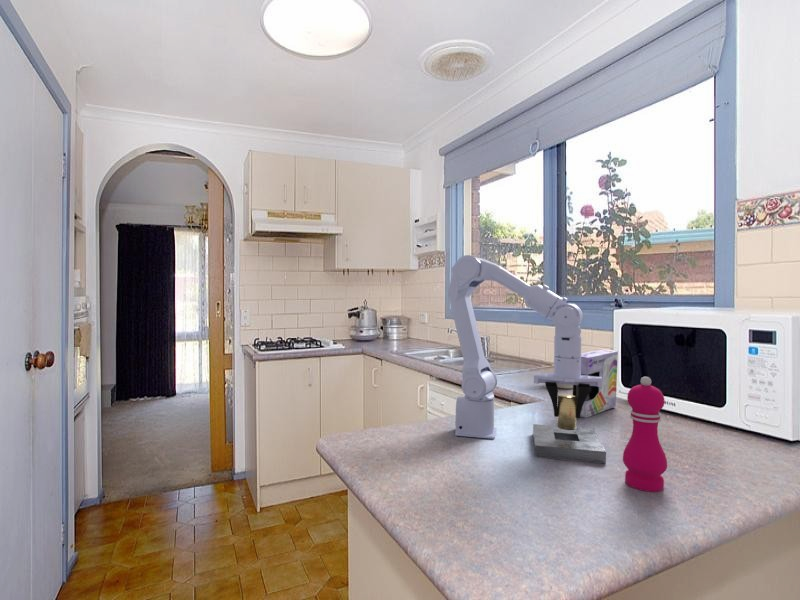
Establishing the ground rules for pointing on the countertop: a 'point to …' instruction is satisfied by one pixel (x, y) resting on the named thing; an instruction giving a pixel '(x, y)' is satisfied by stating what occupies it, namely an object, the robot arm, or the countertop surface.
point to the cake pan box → (606, 368)
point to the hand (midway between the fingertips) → (566, 416)
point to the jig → (568, 444)
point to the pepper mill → (645, 439)
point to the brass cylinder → (567, 411)
